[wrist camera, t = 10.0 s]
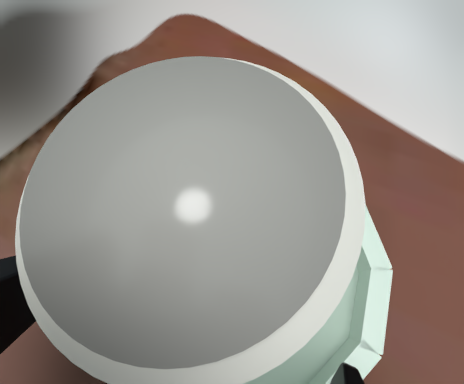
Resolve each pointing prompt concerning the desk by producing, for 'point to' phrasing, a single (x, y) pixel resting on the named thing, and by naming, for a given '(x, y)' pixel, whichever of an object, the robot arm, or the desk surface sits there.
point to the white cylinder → (190, 224)
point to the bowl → (346, 324)
